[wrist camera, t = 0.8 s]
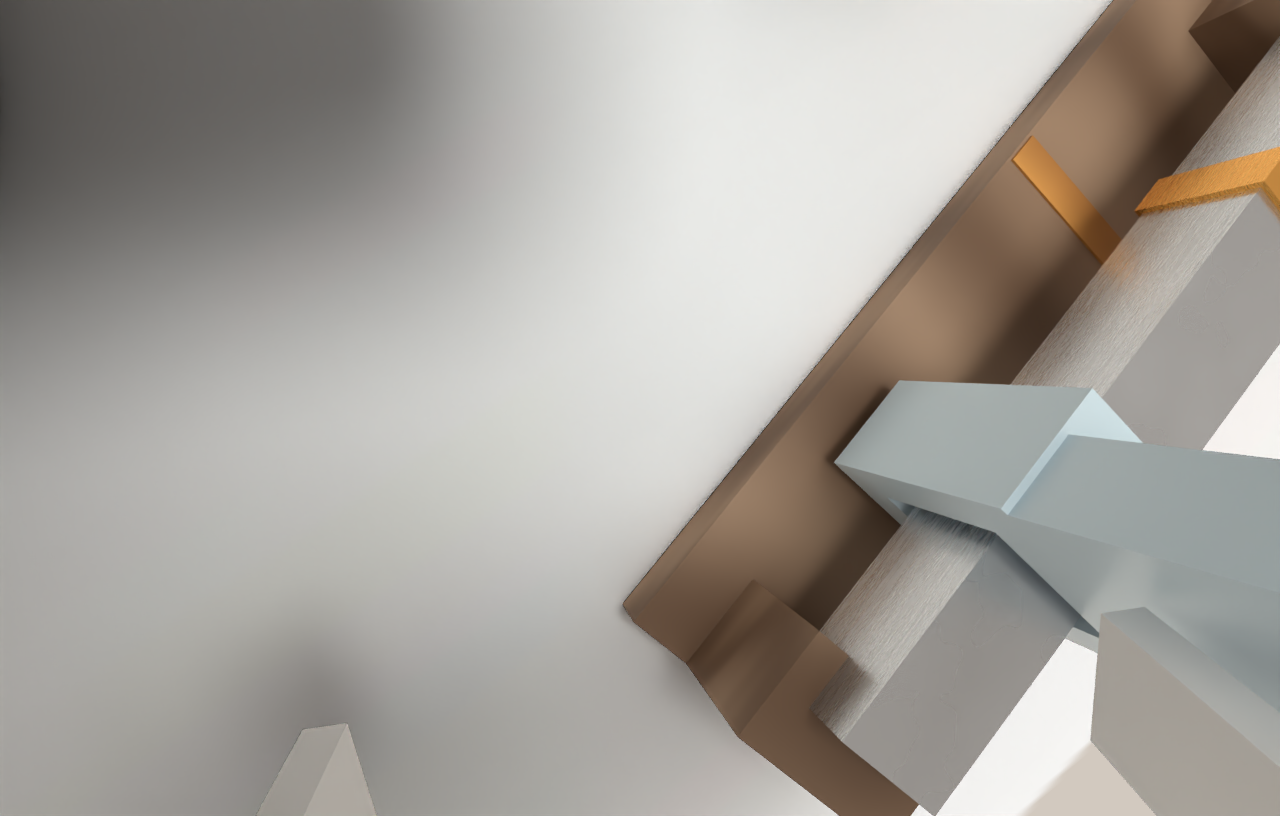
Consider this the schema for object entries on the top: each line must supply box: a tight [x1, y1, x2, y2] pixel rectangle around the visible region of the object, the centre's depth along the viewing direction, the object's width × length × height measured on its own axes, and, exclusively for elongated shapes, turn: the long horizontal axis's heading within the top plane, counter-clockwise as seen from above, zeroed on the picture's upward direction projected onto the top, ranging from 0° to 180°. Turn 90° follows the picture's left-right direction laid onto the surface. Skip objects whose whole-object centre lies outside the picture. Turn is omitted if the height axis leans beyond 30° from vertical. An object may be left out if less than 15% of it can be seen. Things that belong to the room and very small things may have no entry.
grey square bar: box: [810, 37, 1280, 816], centre depth 18 cm, size 25×3×3 cm, turn 139°
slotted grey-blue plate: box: [834, 380, 1280, 712], centre depth 13 cm, size 3×6×14 cm, turn 49°
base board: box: [623, 0, 1280, 816], centre depth 21 cm, size 28×9×6 cm, turn 139°
